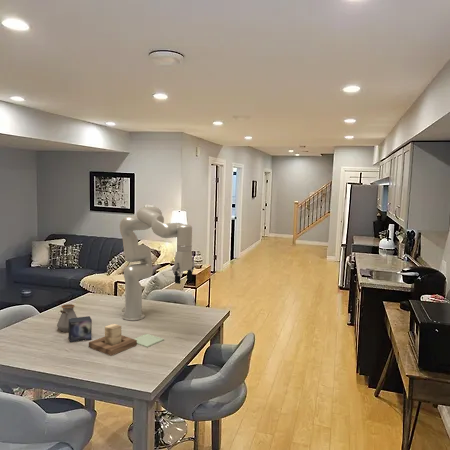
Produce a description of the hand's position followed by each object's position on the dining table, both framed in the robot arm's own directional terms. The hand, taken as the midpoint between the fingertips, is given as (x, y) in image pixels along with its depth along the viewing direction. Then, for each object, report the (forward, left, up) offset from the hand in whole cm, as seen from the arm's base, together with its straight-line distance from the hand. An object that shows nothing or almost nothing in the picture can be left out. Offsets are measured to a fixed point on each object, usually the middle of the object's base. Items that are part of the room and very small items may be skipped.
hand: (183, 281), depth 212 cm
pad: (-10, -16, -29) cm, 35 cm away
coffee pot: (-51, -34, -30) cm, 68 cm away
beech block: (-18, -31, -29) cm, 46 cm away
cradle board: (-18, -31, -29) cm, 46 cm away
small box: (-38, -35, -30) cm, 59 cm away
